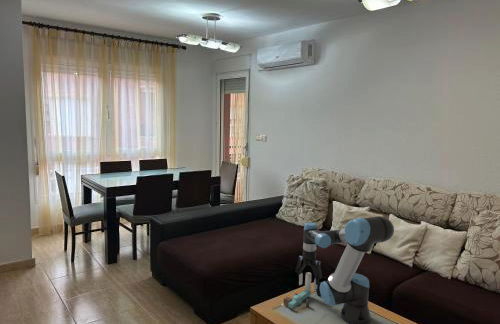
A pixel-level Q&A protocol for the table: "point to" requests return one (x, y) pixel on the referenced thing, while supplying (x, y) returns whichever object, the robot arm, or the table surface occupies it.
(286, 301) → the walnut block
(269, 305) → the table surface
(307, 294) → the lever
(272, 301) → the table surface
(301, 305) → the press base
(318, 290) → the mug
